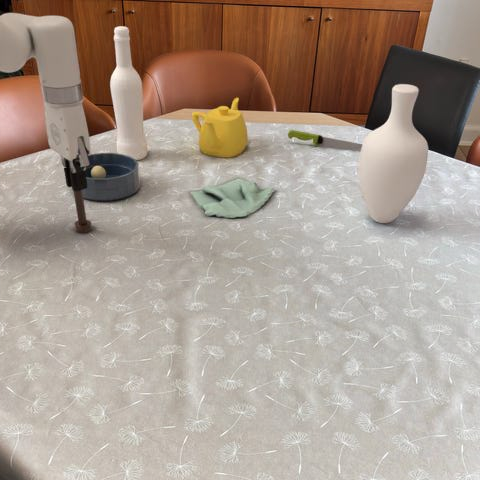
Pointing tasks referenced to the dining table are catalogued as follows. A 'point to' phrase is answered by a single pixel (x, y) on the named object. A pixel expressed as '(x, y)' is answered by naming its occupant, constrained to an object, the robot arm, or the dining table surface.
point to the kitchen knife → (324, 141)
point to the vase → (393, 159)
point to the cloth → (232, 199)
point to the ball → (98, 172)
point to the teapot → (222, 131)
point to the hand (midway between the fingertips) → (77, 186)
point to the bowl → (112, 177)
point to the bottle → (127, 100)
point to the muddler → (81, 212)
